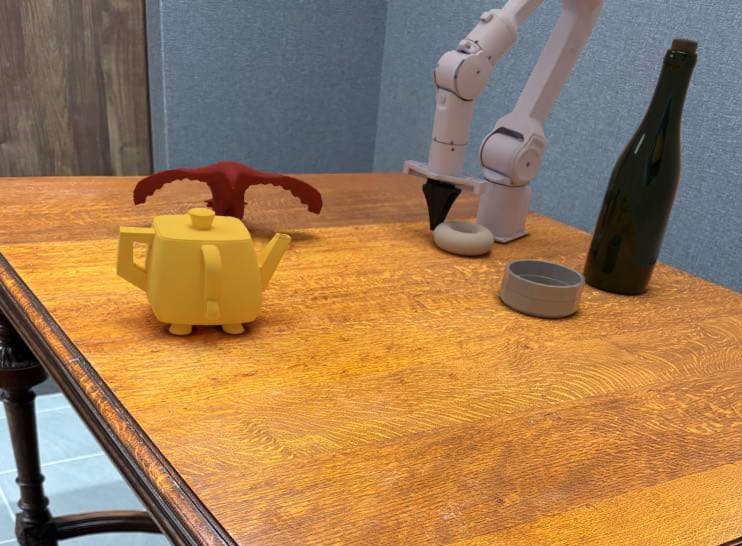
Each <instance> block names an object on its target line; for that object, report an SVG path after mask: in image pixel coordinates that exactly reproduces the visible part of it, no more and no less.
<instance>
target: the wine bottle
mask: <svg viewBox="0 0 742 546" xmlns="http://www.w3.org/2000/svg"><path fill="white" fill-rule="evenodd" d="M698 47H699V42H697V41H696V40H692V39H689V38H688V39H687V38H676V37H675V38H673V39H672V42H671V46H670V48H667V49H666V51H665V53H664V55H663V59H662V65H661V69H660V72H659V75H658V78H657V82H656V85H655V87H654V90H653V93H652V97H651V99H650V101H649V104H648V106H647V109H646V112H645V113H644V115H643V117H642V118H641V120H640V123H639V124H638V125H637V127H636V129H635V131H634V132H633V133H632V135H631V136H630V138H629V140H628V141H627V143H626V144H625V145H624V147H623V149H622V150H621V152H620V153H619V155H618V157H617V159H616V161H615V163H614V165H613V166H612V167H613V168H612V170H611V173H610V176H609V178H608V181H607V185H606V187H605V190H604V195H603V198H602V201H601V204H600V208H599V211H598V214H597V218H596V222H595V225H594V228H593V232H592V235H591V239H590V243H589V245H588V248H587V252H586V257H585V260H584V262H583V263H584V264H583V267H582V273H581V274H582V275H583V276H584V277H585V282H587V283H589V284H590V285H592V286H593V287H596V288H598V289H601V290H604V291H608V292H612V293H617V294H628V295H629V294H631V295H632V294H633V295H634V294H639V293H642V292H645V291H646V290H647V289H648V287H649V286H650V283H651V280H652V277H653V275H654V271H655V268H656V265H657V261H658V259H659V256H660V253H661V249H662V245H663V243H664V239H665V236H666V232H667V230H668V226H669V223H670V219H671V216H672V213H673V209H674V206H675V202H676V199H677V195H678V191H679V188H680V187H679V186H680V183H681V176H682V119H683V113H684V108H685V103H686V99H687V95H688V91H689V88H690V84H691V81H692V77H693V73H694V71H695V68H696V67H697V64H698V59H699V53H698V52H697V50H698Z"/></svg>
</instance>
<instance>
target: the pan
mask: <svg viewBox="0 0 742 546" xmlns="http://www.w3.org/2000/svg"><path fill="white" fill-rule="evenodd" d="M585 284H586V280H585V277H584V276H583V274H582V273H581V272H580V271H578V270H576V269H573V268H572V267H569V266H567V265H563V264H560V263H557V262H554V261H548V260H543V259H533V258H532V259H531V258H521V259H513V260H511V261H508V262H506V263H505V266H504V271H503V274H502V280H501V284H500V290H499V293H498V296H499V298H501V300H502V301H503V303H504V304H505V305H506V306H507V307H509V308H510V309H513V310H514V311H517V312H519V313H523V314H525V315H528V316H534V317H538V318H548V319H557V318H559V319H560V318H566V317H568V316H570V315H572V314H574V313H575V312H578V309H579V305H580V303H581V298H582V295H583V291H584V288H585Z"/></svg>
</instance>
